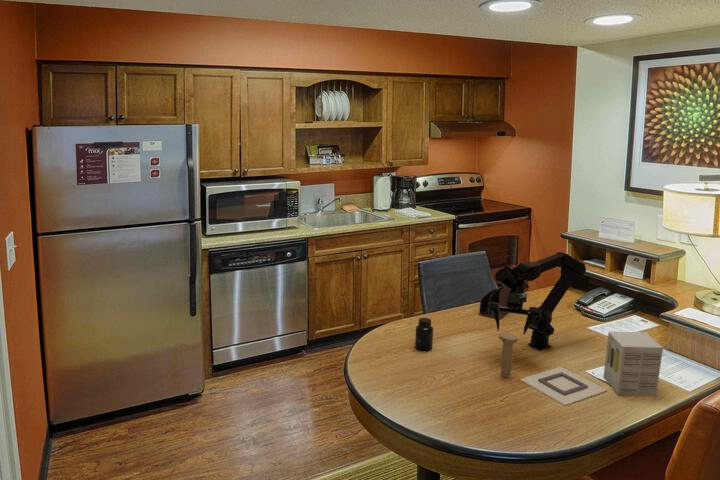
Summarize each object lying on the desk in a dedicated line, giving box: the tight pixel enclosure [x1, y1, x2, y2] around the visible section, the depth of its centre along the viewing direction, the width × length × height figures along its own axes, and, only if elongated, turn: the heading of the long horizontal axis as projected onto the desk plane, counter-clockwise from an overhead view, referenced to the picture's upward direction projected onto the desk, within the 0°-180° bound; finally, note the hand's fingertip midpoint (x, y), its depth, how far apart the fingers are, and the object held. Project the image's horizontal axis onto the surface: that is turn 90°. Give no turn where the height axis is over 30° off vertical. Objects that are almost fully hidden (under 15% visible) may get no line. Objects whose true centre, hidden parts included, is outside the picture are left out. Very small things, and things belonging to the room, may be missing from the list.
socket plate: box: [519, 366, 608, 407], centre depth 200 cm, size 20×20×1 cm
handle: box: [498, 332, 519, 378], centre depth 206 cm, size 5×6×15 cm
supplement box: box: [603, 331, 664, 396], centre depth 199 cm, size 13×13×18 cm
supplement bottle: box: [414, 317, 434, 352], centre depth 228 cm, size 7×7×12 cm
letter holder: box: [478, 285, 509, 321], centre depth 269 cm, size 10×20×14 cm, turn 145°
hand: (510, 332), depth 212 cm, fingers open, 9 cm apart
